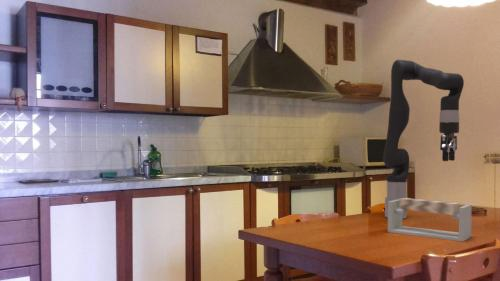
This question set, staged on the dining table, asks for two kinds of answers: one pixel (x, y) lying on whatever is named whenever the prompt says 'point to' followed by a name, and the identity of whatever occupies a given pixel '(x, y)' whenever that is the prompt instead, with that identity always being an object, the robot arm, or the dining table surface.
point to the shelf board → (429, 206)
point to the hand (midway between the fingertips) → (448, 160)
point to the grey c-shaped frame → (397, 227)
